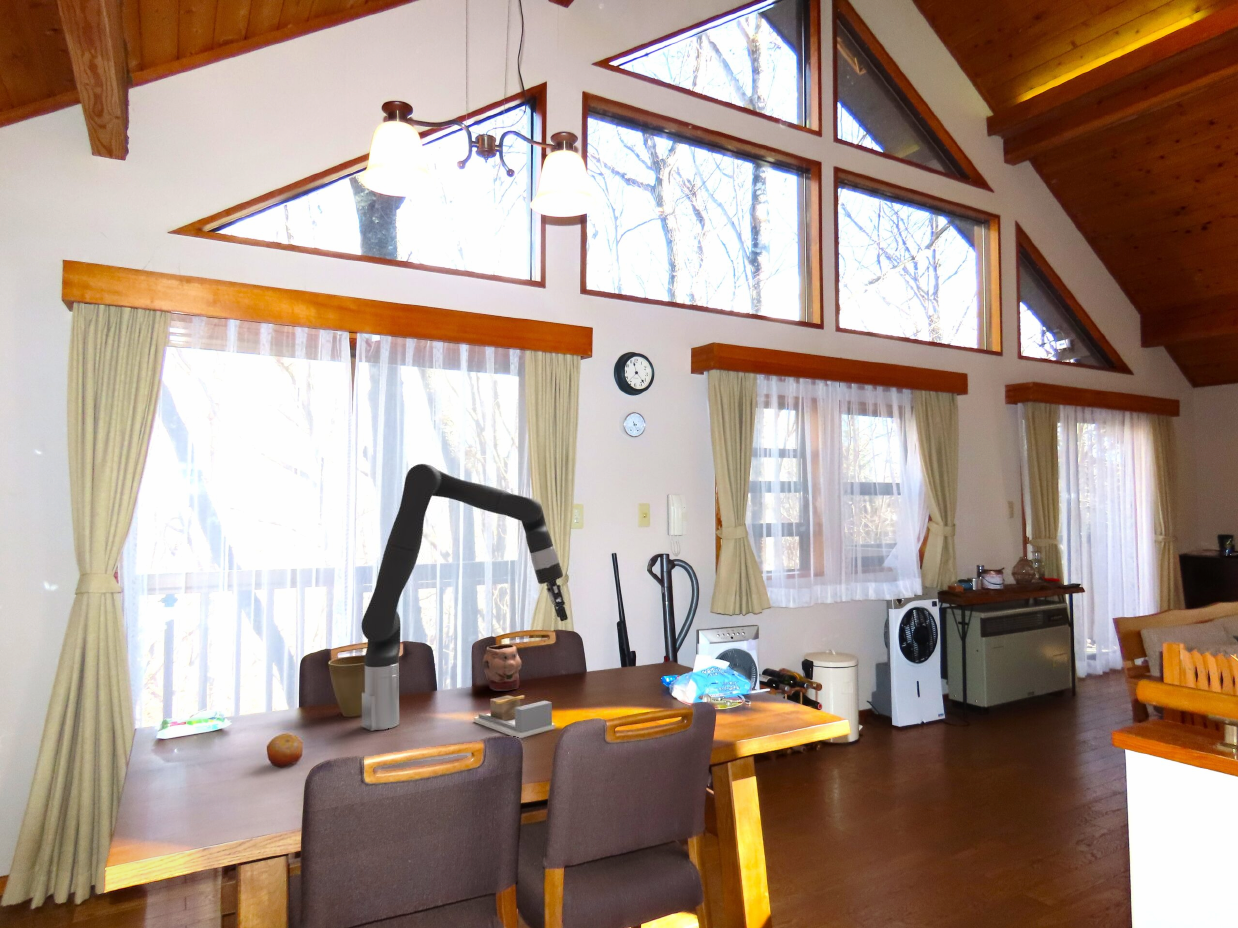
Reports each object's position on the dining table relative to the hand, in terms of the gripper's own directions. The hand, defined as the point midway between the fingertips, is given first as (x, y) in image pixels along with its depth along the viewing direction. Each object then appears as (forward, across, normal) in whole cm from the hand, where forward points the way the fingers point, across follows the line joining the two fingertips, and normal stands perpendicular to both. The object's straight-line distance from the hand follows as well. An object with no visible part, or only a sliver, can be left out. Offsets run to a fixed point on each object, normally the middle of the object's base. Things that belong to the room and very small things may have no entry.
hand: (562, 618), depth 220 cm
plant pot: (+10, -21, -66) cm, 70 cm away
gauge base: (+23, +3, -22) cm, 32 cm away
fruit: (+9, +22, -76) cm, 79 cm away
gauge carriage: (+21, 0, -23) cm, 32 cm away
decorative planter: (+22, -41, -23) cm, 52 cm away
